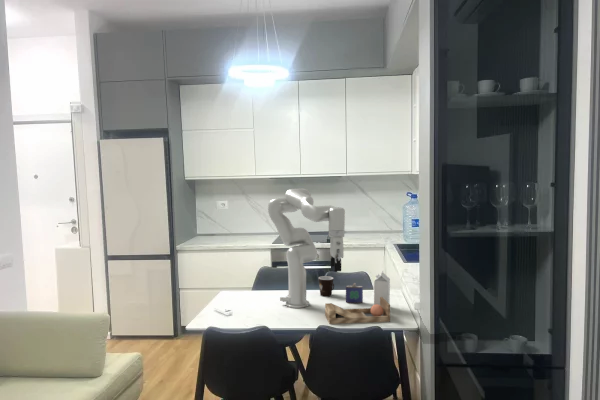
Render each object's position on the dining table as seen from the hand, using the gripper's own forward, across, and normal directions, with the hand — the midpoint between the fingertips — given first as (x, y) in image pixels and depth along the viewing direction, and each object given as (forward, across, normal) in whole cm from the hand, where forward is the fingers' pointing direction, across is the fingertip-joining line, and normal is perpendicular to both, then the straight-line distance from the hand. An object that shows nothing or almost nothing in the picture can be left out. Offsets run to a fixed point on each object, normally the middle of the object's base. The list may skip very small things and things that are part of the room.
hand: (335, 268), depth 199 cm
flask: (+25, +23, -15) cm, 37 cm away
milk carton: (+25, +12, -27) cm, 39 cm away
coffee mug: (+25, +37, -2) cm, 45 cm away
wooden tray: (+24, -1, -11) cm, 27 cm away
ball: (+21, -1, -18) cm, 27 cm away
